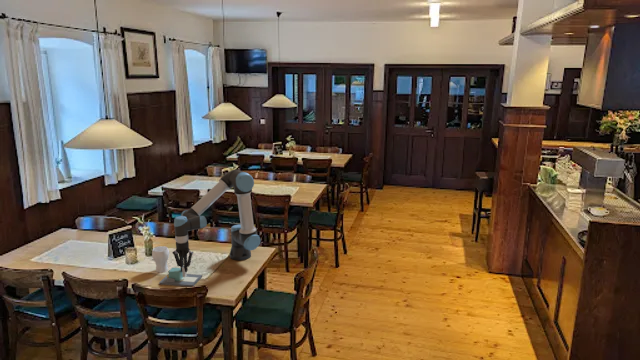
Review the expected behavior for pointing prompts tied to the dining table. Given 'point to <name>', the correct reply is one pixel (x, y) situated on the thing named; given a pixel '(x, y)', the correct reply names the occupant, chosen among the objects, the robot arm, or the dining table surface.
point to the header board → (185, 281)
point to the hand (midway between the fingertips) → (184, 276)
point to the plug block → (175, 274)
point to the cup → (161, 258)
